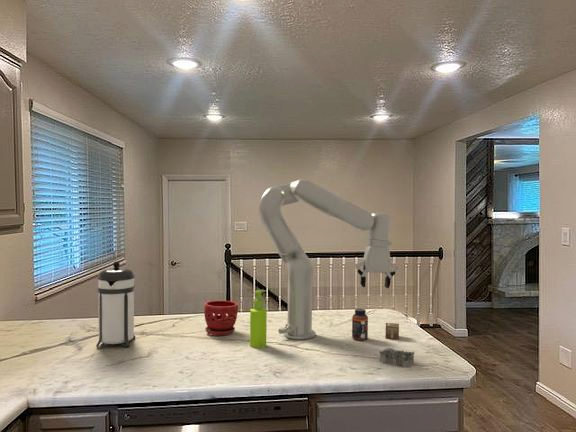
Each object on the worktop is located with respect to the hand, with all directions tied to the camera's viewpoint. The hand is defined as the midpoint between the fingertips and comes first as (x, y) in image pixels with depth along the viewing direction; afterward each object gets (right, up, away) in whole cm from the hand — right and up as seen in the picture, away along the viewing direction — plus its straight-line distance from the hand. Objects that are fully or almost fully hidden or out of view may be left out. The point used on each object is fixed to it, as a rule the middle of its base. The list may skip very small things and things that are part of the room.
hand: (374, 287), depth 182 cm
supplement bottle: (-7, -19, -5) cm, 21 cm away
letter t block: (+6, -19, -3) cm, 20 cm away
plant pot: (-61, -19, +1) cm, 64 cm away
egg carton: (+1, -20, -31) cm, 37 cm away
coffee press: (-97, -19, -13) cm, 100 cm away
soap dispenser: (-45, -19, -15) cm, 51 cm away
